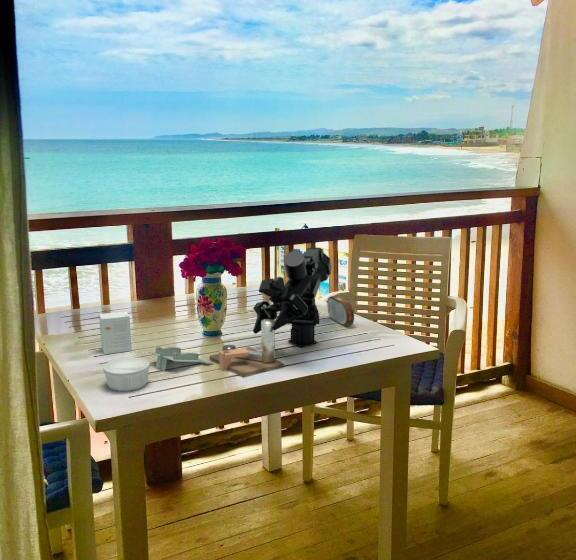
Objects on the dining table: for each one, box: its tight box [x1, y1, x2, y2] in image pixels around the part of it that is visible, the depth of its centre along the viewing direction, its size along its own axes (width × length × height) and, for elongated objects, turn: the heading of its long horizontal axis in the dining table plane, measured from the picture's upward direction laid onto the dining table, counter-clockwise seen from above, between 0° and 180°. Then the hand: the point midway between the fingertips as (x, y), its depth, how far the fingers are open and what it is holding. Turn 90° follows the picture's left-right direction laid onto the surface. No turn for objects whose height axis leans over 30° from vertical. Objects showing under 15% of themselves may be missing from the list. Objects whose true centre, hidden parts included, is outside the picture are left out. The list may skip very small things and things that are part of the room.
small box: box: [98, 311, 132, 355], centre depth 184 cm, size 8×6×10 cm
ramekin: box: [102, 356, 151, 392], centre depth 159 cm, size 11×11×5 cm
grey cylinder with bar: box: [221, 319, 276, 363], centre depth 174 cm, size 16×4×11 cm, turn 66°
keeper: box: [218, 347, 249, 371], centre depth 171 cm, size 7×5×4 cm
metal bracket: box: [148, 346, 215, 372], centre depth 174 cm, size 14×6×15 cm
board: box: [209, 346, 285, 378], centre depth 175 cm, size 13×17×1 cm
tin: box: [327, 294, 355, 327], centre depth 212 cm, size 15×3×8 cm, turn 22°
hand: (263, 331), depth 172 cm, fingers open, 9 cm apart
